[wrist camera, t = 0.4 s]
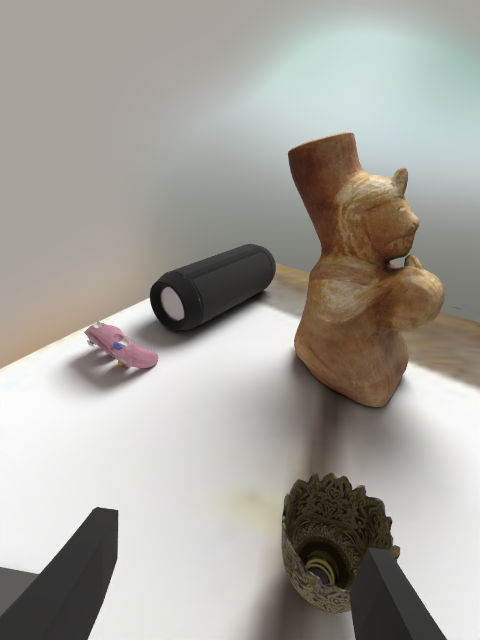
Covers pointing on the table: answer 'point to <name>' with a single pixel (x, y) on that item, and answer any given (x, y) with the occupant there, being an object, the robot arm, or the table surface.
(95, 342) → the pink elongated curved piece
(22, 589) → the mat
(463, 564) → the table surface
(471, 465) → the table surface
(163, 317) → the portable speaker
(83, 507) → the table surface
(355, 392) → the ceramic vessel
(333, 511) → the cup
